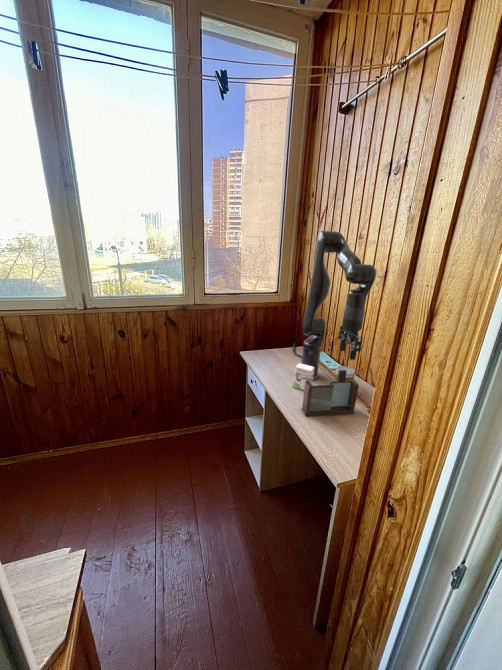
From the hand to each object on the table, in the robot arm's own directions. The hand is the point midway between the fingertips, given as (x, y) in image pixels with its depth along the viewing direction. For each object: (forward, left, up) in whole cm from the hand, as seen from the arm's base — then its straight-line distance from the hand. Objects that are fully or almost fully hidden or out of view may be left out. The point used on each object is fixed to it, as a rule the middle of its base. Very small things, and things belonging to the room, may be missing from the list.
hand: (347, 354), depth 119 cm
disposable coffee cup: (-18, +10, -28) cm, 35 cm away
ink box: (-23, -9, -28) cm, 37 cm away
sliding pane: (-3, +1, -26) cm, 26 cm away
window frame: (-2, -4, -28) cm, 28 cm away
